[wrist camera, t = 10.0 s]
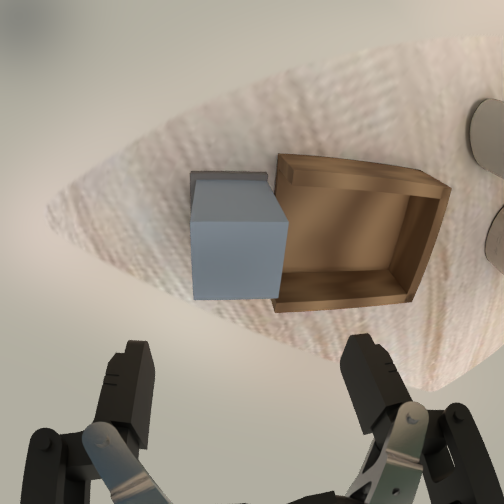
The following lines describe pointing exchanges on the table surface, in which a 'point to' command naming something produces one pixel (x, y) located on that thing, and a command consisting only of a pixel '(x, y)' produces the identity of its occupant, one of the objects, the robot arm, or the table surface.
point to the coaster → (223, 177)
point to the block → (236, 240)
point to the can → (489, 136)
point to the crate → (354, 232)
